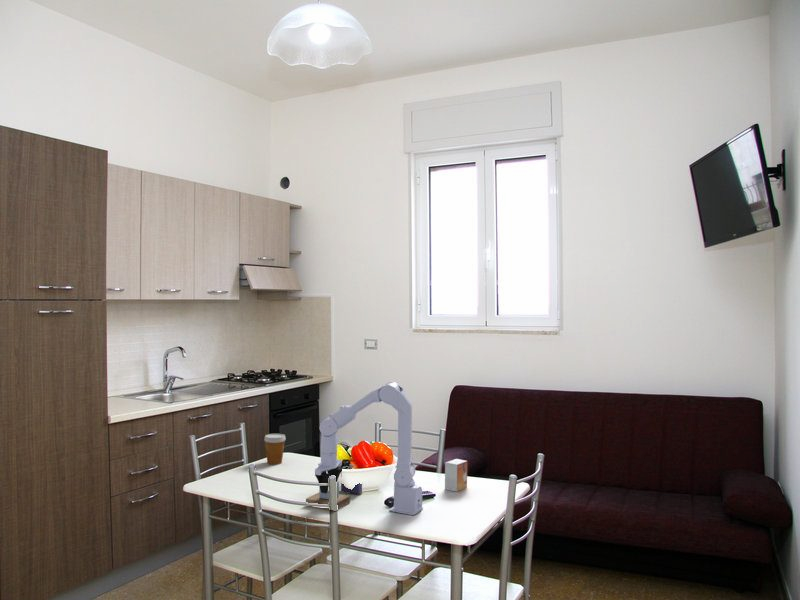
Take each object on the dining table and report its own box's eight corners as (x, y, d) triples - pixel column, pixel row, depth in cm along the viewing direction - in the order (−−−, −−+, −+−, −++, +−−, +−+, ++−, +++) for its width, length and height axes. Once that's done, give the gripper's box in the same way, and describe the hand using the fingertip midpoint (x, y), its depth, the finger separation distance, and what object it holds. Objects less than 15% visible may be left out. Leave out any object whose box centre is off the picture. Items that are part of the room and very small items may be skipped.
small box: (456, 492, 234) (457, 464, 234) (444, 489, 237) (444, 462, 237) (467, 487, 240) (467, 460, 240) (455, 484, 244) (455, 458, 244)
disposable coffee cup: (285, 465, 268) (285, 437, 268) (262, 465, 266) (263, 438, 267) (286, 459, 277) (286, 433, 277) (264, 460, 276) (264, 433, 276)
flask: (363, 493, 230) (363, 464, 230) (358, 495, 228) (359, 466, 228) (343, 489, 235) (343, 461, 235) (338, 491, 233) (339, 463, 233)
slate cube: (338, 495, 218) (339, 481, 218) (331, 499, 214) (331, 485, 214) (326, 493, 220) (327, 479, 220) (319, 497, 216) (319, 483, 216)
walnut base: (349, 503, 219) (350, 496, 219) (335, 511, 210) (335, 504, 210) (321, 497, 224) (321, 491, 224) (305, 505, 215) (305, 498, 215)
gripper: (330, 446, 226) (329, 483, 225) (307, 455, 212) (307, 494, 212) (347, 448, 222) (346, 486, 222) (325, 457, 209) (324, 497, 209)
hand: (328, 490), depth 217 cm, fingers closed on slate cube, 5 cm apart
